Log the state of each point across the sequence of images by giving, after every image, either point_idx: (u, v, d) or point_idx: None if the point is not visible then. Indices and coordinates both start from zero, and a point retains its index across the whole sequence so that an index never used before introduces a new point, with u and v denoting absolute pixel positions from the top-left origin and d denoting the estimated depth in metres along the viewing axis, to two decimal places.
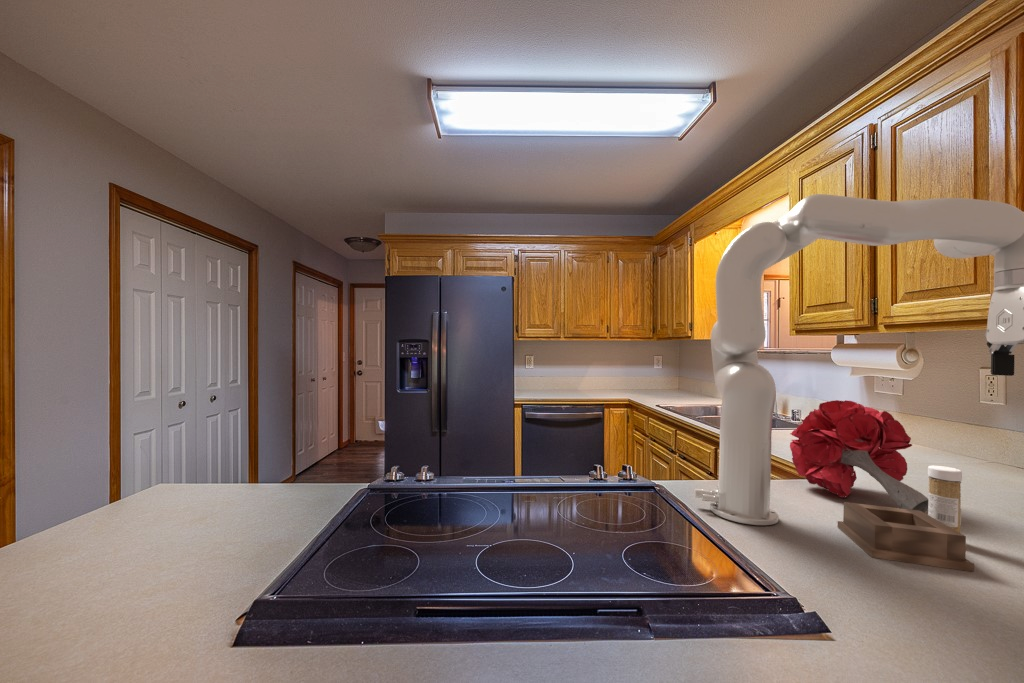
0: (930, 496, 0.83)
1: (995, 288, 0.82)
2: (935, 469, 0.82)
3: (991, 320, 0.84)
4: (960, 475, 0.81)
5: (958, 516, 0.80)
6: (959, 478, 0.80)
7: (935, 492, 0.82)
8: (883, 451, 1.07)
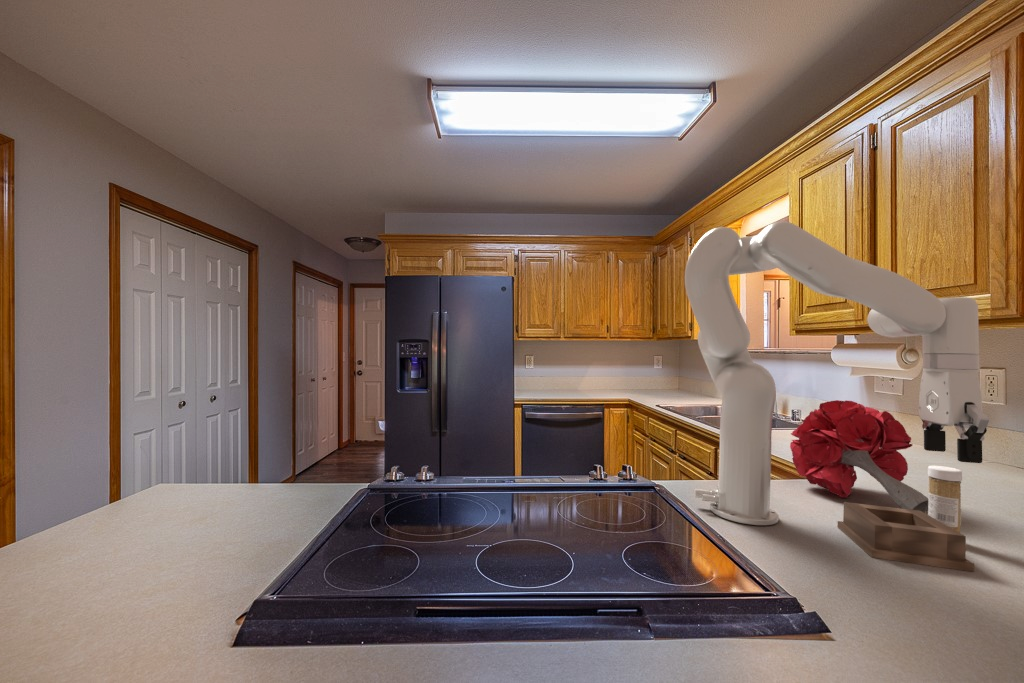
0: (930, 496, 0.83)
1: (923, 369, 0.85)
2: (935, 469, 0.82)
3: (921, 398, 0.87)
4: (960, 475, 0.81)
5: (958, 516, 0.80)
6: (959, 478, 0.80)
7: (935, 492, 0.82)
8: (883, 451, 1.07)
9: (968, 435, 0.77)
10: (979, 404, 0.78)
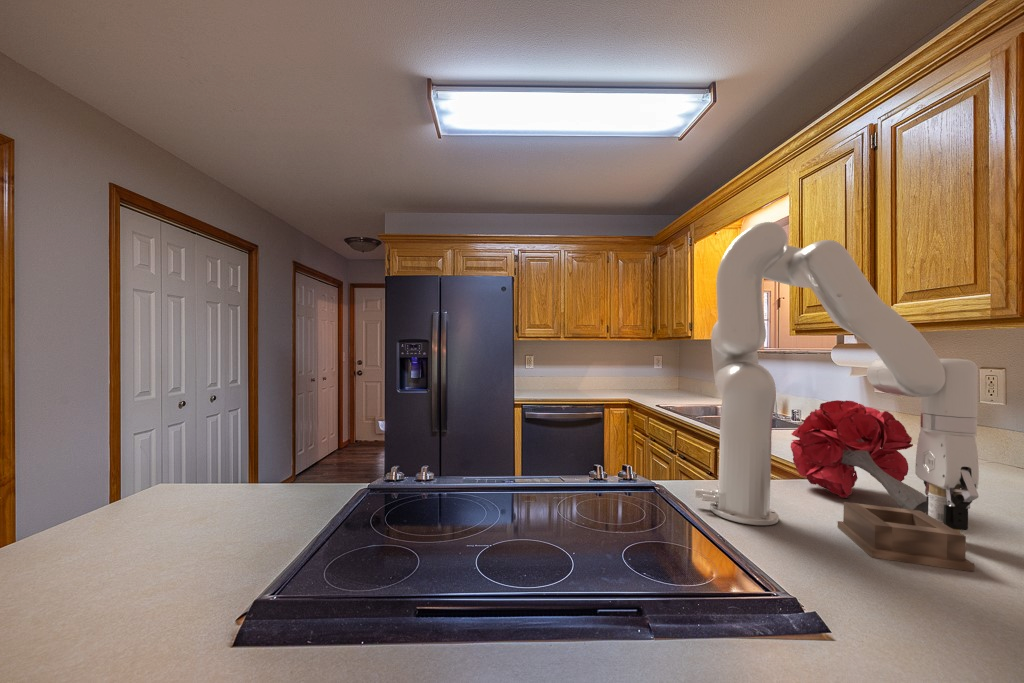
0: (930, 496, 0.83)
1: (921, 428, 0.84)
2: None
3: (918, 456, 0.87)
4: None
5: None
6: None
7: (935, 492, 0.82)
8: (884, 451, 1.07)
9: (955, 503, 0.79)
10: (976, 469, 0.77)
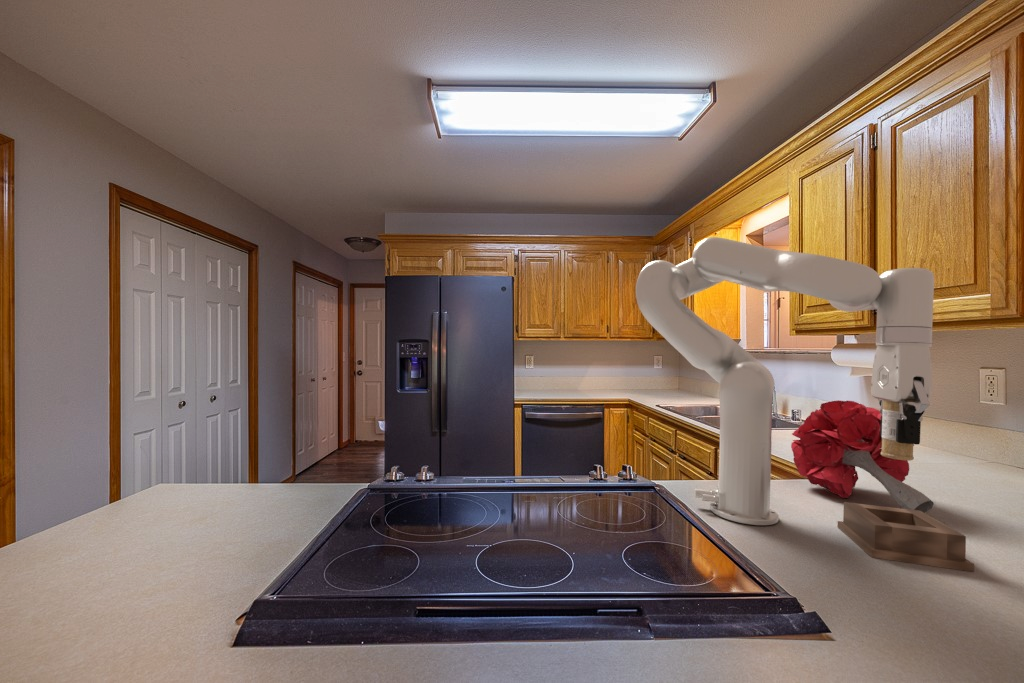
0: (883, 412, 0.80)
1: (876, 343, 0.81)
2: None
3: (874, 374, 0.83)
4: None
5: None
6: None
7: (889, 407, 0.79)
8: None
9: (907, 415, 0.76)
10: (928, 379, 0.74)
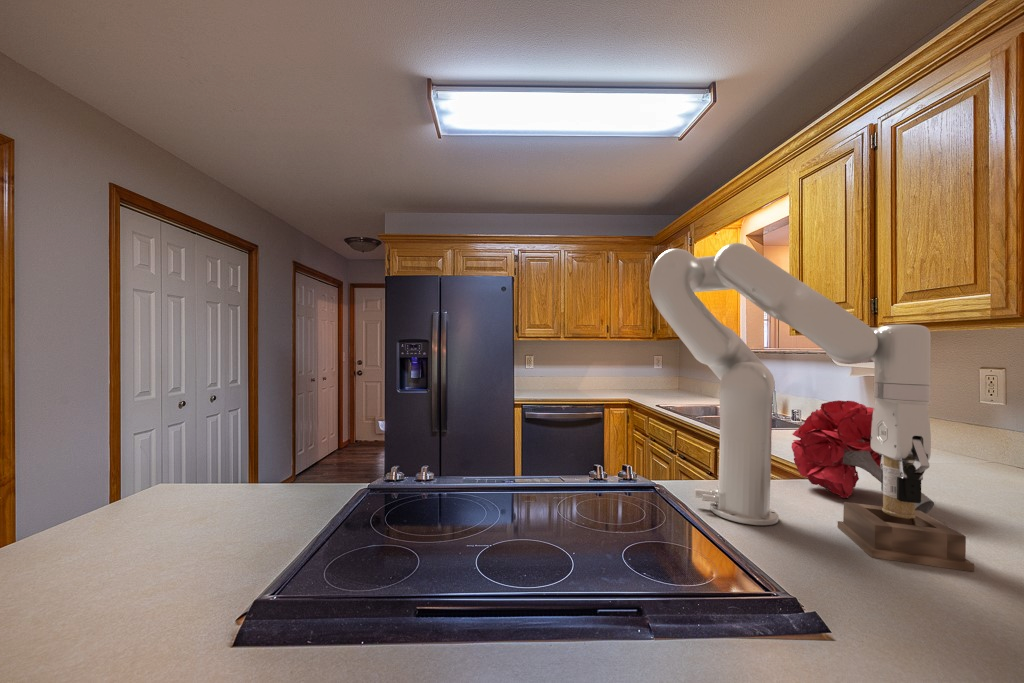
0: (884, 468, 0.79)
1: (874, 398, 0.81)
2: None
3: (873, 428, 0.83)
4: None
5: None
6: None
7: (889, 464, 0.78)
8: None
9: (907, 474, 0.75)
10: (927, 438, 0.74)
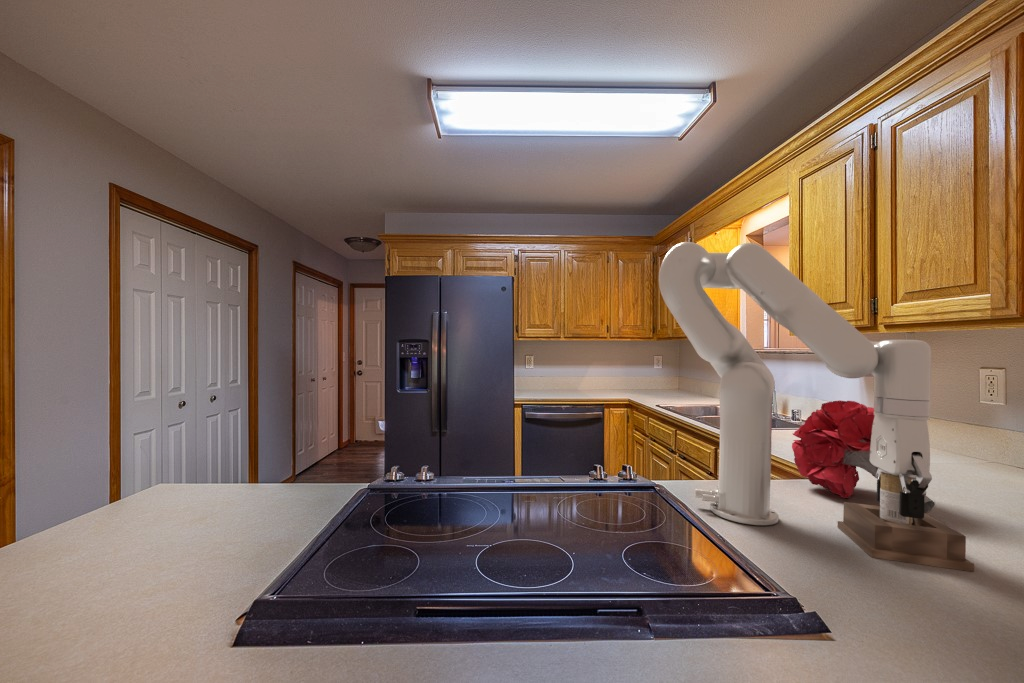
0: (881, 492, 0.80)
1: (874, 412, 0.81)
2: None
3: (872, 442, 0.83)
4: None
5: None
6: (910, 473, 0.77)
7: (886, 488, 0.79)
8: None
9: (910, 489, 0.74)
10: (927, 454, 0.74)
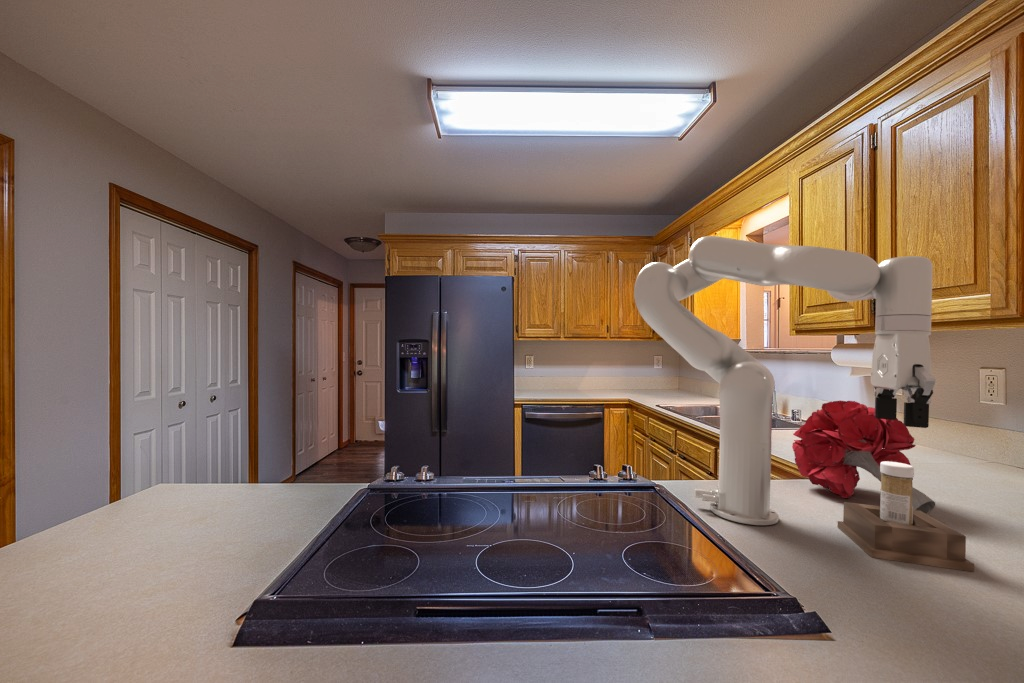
0: (882, 493, 0.79)
1: (875, 332, 0.81)
2: (887, 465, 0.78)
3: (873, 363, 0.83)
4: (912, 471, 0.77)
5: (909, 514, 0.77)
6: (911, 474, 0.77)
7: (887, 489, 0.78)
8: (886, 452, 1.07)
9: (915, 398, 0.73)
10: (928, 366, 0.74)
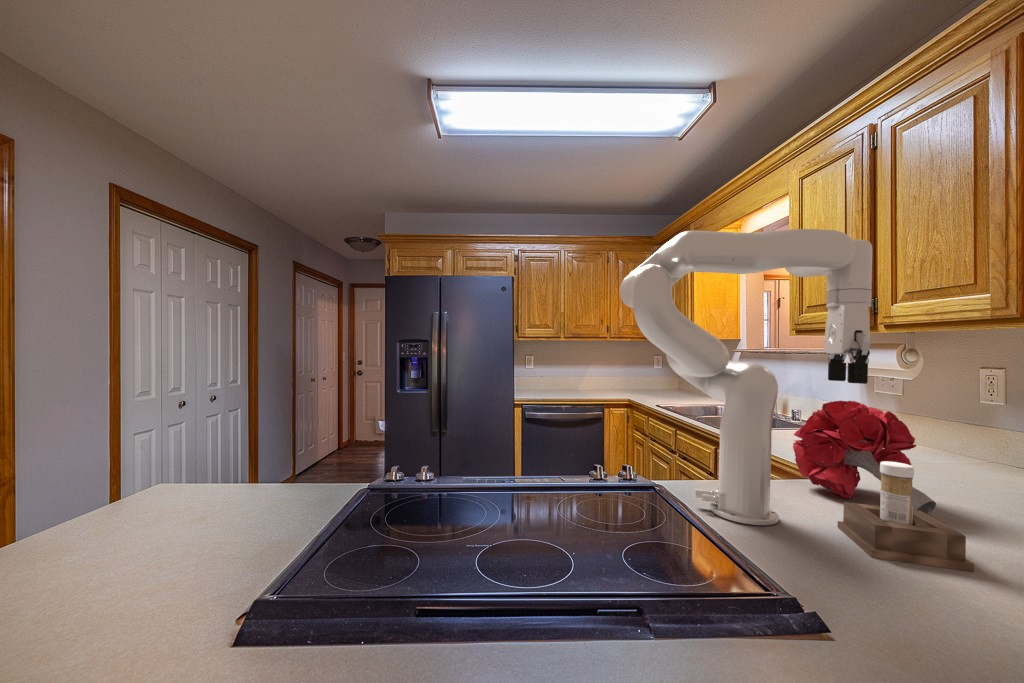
0: (881, 493, 0.79)
1: (826, 305, 0.95)
2: (887, 465, 0.79)
3: (826, 333, 0.97)
4: (912, 471, 0.77)
5: (909, 514, 0.77)
6: (911, 474, 0.77)
7: (887, 489, 0.78)
8: (887, 452, 1.06)
9: (856, 358, 0.87)
10: (867, 332, 0.88)
